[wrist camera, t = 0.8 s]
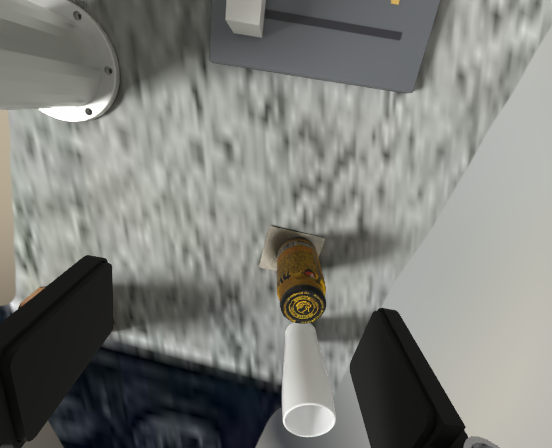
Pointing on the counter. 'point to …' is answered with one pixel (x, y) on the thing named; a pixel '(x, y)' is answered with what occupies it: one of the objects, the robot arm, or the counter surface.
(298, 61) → the fader panel
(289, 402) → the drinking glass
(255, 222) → the counter surface
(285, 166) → the counter surface
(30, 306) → the robot arm
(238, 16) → the fader knob
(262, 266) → the condiment
